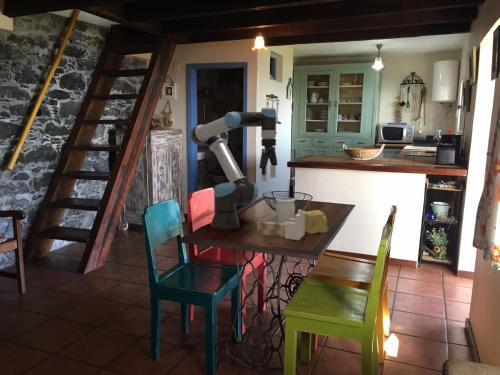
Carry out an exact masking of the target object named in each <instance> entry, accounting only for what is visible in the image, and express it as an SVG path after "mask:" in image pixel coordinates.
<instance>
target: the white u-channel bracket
mask: <svg viewBox="0 0 500 375" xmlns="http://www.w3.org/2000/svg"><path fill="white" fill-rule="evenodd" d="M305 212H306V211H305V210H304V211H303V210H302V209H298V210H297V214H296V213H295V214H294V218H291V219H290V222H285V237H284V239H286V240H295V241H300V240H301V239H302V238H303V237H304V236H305V233H306V232H305Z"/></svg>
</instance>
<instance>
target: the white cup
mask: <svg viewBox="0 0 500 375" xmlns="http://www.w3.org/2000/svg"><path fill="white" fill-rule="evenodd" d="M295 199H296V198H292V197H277V198H275V201H276V205H275V213H276V220H277V222H278V223H285V222H290V219H291V218H295V215H296V213H295V211H296V206H295V205H296V204H295V202H296V200H295Z"/></svg>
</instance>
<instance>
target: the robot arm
mask: <svg viewBox="0 0 500 375" xmlns="http://www.w3.org/2000/svg"><path fill="white" fill-rule="evenodd" d="M242 127H243V128H245V127H246V128H247V127H249V128H252V127H254V128H255V127H261V128H260V130H261V132H260V133H261V134H260V136H261V140H260V141H261V146H262V147H263V148H261V156H260V162H259V169H260V170H261V180H260V181H261V182H268V168H267V166H268V161H269V162H270V166H269V167H270V173H269V174H270V175H269V176H270V178H273V179H276V178H277V176H276V173H277V172H276V171H277V170H276V169H277V167H276V166H278V161H277V160H278V158H277V154H276V146H277V139H276V137H277V134H278V132H277V110H276V108H275V107H262V108H261V111H230V112H229V111H228V112H227V113H226V114H225V116H223V117H221V118H218V119H216V120H213V121H210V122H208V123H206V124H198V125H196V126H194V127H192V129H191V130H190V134H189V135H190V140H191V142H192V143H193V144H195V145H197V146H202V147H203V146H207V147H208V149H209V151H210V152H213V153H214V154H215V156H216V158H217V161H218V162H219V164H220V166H221V168H222V170H223V172H224V173H225V176H226V178H227V179H228V181H229V182H222V183H219V184H217V185H215V186H214V189H213V197H214V198H213V201H214V202H213V203H214V205H213V206H214V207H213V208H214V212H213V217H212V220H211V228H212V229H214V230H219V231H220V230H223V231H228V230H234V229H235V230H236V229H238V228H239V227H240V221H239V218H238V214H237V206H243V205H250V204H253V203H254V202H256V201H257V199H258V197H259V189H258V186H257V183H255V182H252V181H250V180H249V178H248V177H247V176H244V175H243V173H242V171H241V169H240V167H239V165H238V163H237V162H236V160H235V158H234V155H233V154H232V152H231V151H230V148H229V147H228V142H229V136H228V135H229V133H228V131H231V130H234V129H237V128H242Z"/></svg>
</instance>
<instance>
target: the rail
mask: <svg viewBox="0 0 500 375" xmlns="http://www.w3.org/2000/svg"><path fill="white" fill-rule="evenodd" d="M256 225H257V226H256V227H257V228H256V231H257V232H256V234H257V235H261V236H262V235H263V236H273V237H280V238H281V237H282V238H283V237H284V238H285V223H279V222H278V221H277V222H276V221H267V220H266V221H264V220H259V221H258V222H257V223H256Z"/></svg>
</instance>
